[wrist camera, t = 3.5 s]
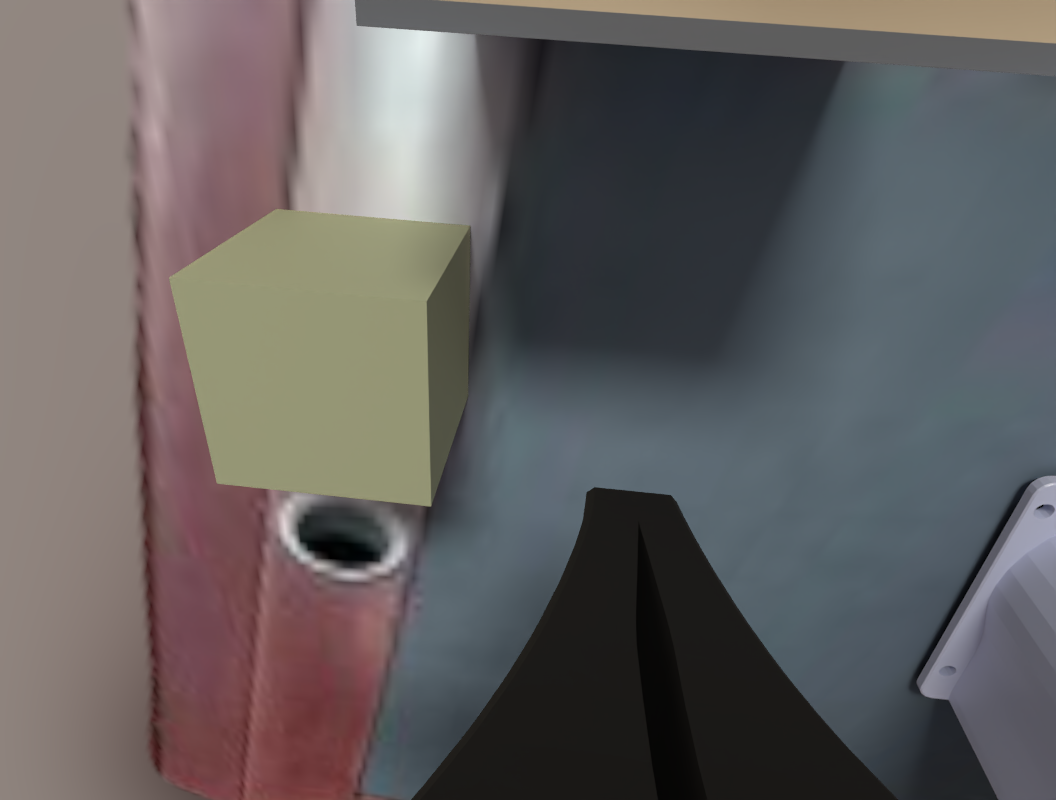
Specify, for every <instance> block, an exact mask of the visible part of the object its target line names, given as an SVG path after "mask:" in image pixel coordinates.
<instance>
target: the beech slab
mask: <svg viewBox="0 0 1056 800" xmlns="http://www.w3.org/2000/svg"><path fill="white" fill-rule="evenodd" d="M355 7H356V22H357V26H368V27H382V28H396V29H409V30H423V31H437V32H451V33H465V34H479V35H492V36H506V37H520V38H534V39H548V40H562V41H575V42H589V43H603V44H617V45H631V46H644V47H658V48H672V49H686V50H700V51H714V52H727V53H741V54H755V55H769V56H783V57H797V58H810V59H824V60H838V61H852V62H866V63H880V64H893V65H907V66H921V67H935V68H949V69H963V70H976V71H990V72H1004V73H1018V74H1032V75H1045V76H1056V0H355Z"/></svg>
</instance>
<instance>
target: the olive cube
mask: <svg viewBox="0 0 1056 800" xmlns="http://www.w3.org/2000/svg"><path fill="white" fill-rule="evenodd" d="M169 280H170V284H171V289H172V293H173V297H174V302H175V306H176V310H177V314H178V319H179V323H180V327H181V331H182V336H183V340H184V344H185V348H186V353H187V357H188V361H189V366H190V370H191V374H192V378H193V383H194V387H195V391H196V395H197V400H198V404H199V408H200V412H201V417H202V421H203V425H204V430H205V434H206V438H207V442H208V447H209V451H210V455H211V459H212V464H213V468H214V472H215V476H216V481H217V484H227V485H236V486H245V487H254V488H264V489H273V490H282V491H292V492H301V493H310V494H319V495H329V496H338V497H347V498H356V499H366V500H375V501H384V502H394V503H403V504H412V505H421V506H432V503H433V500H434V497H435V494H436V491H437V488H438V485H439V482H440V479H441V476H442V473H443V470H444V467H445V464H446V461H447V458H448V455H449V452H450V449H451V446H452V443H453V440H454V437H455V434H456V431H457V428H458V425H459V422H460V419H461V416H462V413H463V410H464V407H465V404H466V401H467V398H468V368H469V295H470V226H467V225H455V224H443V223H432V222H420V221H409V220H397V219H386V218H374V217H362V216H351V215H339V214H328V213H316V212H305V211H293V210H281V209H276V210H274V211H272V212H271V213H269V214H268V215H266V216H265V217H263V218H261V219H260V220H258V221H257V222H255V223H254V224H252V225H251V226H249V227H247V228H246V229H244V230H243V231H241V232H240V233H238V234H237V235H235V236H233V237H232V238H230V239H229V240H227V241H226V242H224V243H222V244H221V245H219V246H218V247H216V248H215V249H213V250H212V251H210V252H208V253H207V254H205V255H204V256H202V257H201V258H199V259H197V260H196V261H194V262H193V263H191V264H190V265H188V266H187V267H185V268H183V269H182V270H180V271H179V272H177V273H176V274H174V275H172V276H171V277H169Z"/></svg>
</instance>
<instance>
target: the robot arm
mask: <svg viewBox="0 0 1056 800" xmlns="http://www.w3.org/2000/svg"><path fill="white" fill-rule="evenodd" d="M1041 505H1044V506H1043V507H1041V508H1039V509H1036V508H1037V507H1039V506H1041ZM917 685H918V687H919V689H920V691H921V694H923V695H924V696H926V697H930V698H936V699H945V700H949V702H950V704H951V706H952V708H953V710H954V712H955V714H956V716H957V718H958V720H959V722H960V724H961V726H962V728H963V730H964V732H965V734H966V736H967V738H968V740H969V742H970V744H971V746H972V748H973V750H974V752H975V754H976V756H977V758H978V760H979V762H980V764H981V766H982V768H983V770H984V772H985V774H986V776H987V778H988V780H989V782H990V784H991V786H992V788H993V790H994V792H995V794H996V796H997V798H998V800H1056V476H1045V477H1041V478H1038V479H1036V480H1035V481H1033V482H1032V483H1031V484H1030V485H1029V486H1028V487H1027V489H1026V490H1025V492H1024V494H1023V496H1022V497H1021V499H1020V501H1019V503H1018V504H1017V506H1016V508H1015V510H1014V511H1013V513H1012V515H1011V517H1010V518H1009V520H1008V522H1007V524H1006V525H1005V527H1004V529H1003V531H1002V532H1001V534H1000V536H999V538H998V539H997V541H996V543H995V545H994V546H993V548H992V550H991V552H990V553H989V555H988V557H987V559H986V560H985V562H984V564H983V566H982V567H981V569H980V571H979V572H978V574H977V576H976V578H975V579H974V581H973V583H972V585H971V586H970V588H969V590H968V592H967V593H966V595H965V597H964V599H963V600H962V602H961V604H960V606H959V607H958V609H957V611H956V613H955V614H954V616H953V618H952V620H951V621H950V623H949V625H948V627H947V628H946V630H945V632H944V634H943V635H942V637H941V639H940V641H939V642H938V644H937V646H936V648H935V649H934V651H933V653H932V655H931V656H930V658H929V660H928V662H927V663H926V665H925V667H924V669H923V670H922V672H921V674H920V675H919V677H918V679H917ZM411 800H898V799H897V798H896V797H895V796H894V795H893V794H892V793H891V792H890V791H889V790H888V789H887V788H886V787H885V786H884V785H883V784H882V783H881V782H880V781H879V780H878V778H877V777H876V776H875V775H874V774H873V773H872V772H871V771H870V770H869V769H868V768H867V767H866V766H865V765H864V764H863V763H862V762H861V761H860V760H859V759H858V758H857V757H856V756H855V755H854V754H853V753H852V752H851V751H850V750H849V749H848V748H847V746H846V745H845V744H844V743H843V742H842V741H841V740H840V738H839V737H838V736H837V735H836V734H835V733H834V732H833V731H832V729H831V728H830V727H829V726H828V725H827V724H826V723H825V721H824V720H823V719H822V718H821V717H820V716H819V715H818V714H817V712H816V711H815V710H814V709H813V707H812V706H811V705H810V704H809V703H808V701H807V700H806V699H805V698H804V697H803V695H802V694H801V693H800V692H799V691H798V689H797V688H796V687H795V686H794V684H793V683H792V682H791V681H790V679H789V678H788V677H787V676H786V674H785V673H784V672H783V670H782V669H781V668H780V667H779V665H778V664H777V663H776V661H775V660H774V659H773V657H772V656H771V655H770V653H769V652H768V651H767V649H766V648H765V646H764V645H763V644H762V642H761V641H760V639H759V638H758V637H757V635H756V634H755V632H754V631H753V630H752V628H751V627H750V625H749V624H748V623H747V621H746V620H745V618H744V617H743V615H742V614H741V612H740V611H739V609H738V608H737V606H736V605H735V603H734V602H733V600H732V598H731V597H730V595H729V594H728V592H727V591H726V589H725V587H724V586H723V584H722V583H721V581H720V580H719V578H718V576H717V575H716V573H715V572H714V570H713V568H712V567H711V565H710V563H709V562H708V560H707V558H706V556H705V555H704V553H703V551H702V549H701V548H700V546H699V544H698V542H697V541H696V539H695V537H694V535H693V533H692V531H691V530H690V528H689V526H688V524H687V522H686V520H685V518H684V516H683V514H682V512H681V510H680V508H679V506H678V504H677V502H676V501H675V500H674V498H673V497H672V496H671V495H664V494H654V493H644V492H635V491H625V490H615V489H605V488H596V487H595V488H593V489H591V490H590V491H588V492H587V495H586V502H585V509H584V517H583V522H582V525H581V529H580V532H579V535H578V538H577V541H576V544H575V546H574V549H573V551H572V554H571V556H570V559H569V561H568V563H567V566H566V568H565V571H564V573H563V575H562V578H561V580H560V582H559V584H558V586H557V588H556V590H555V592H554V594H553V596H552V598H551V600H550V602H549V604H548V606H547V608H546V610H545V612H544V614H543V616H542V617H541V619H540V621H539V623H538V625H537V627H536V628H535V630H534V632H533V634H532V635H531V637H530V639H529V641H528V642H527V644H526V646H525V647H524V649H523V651H522V652H521V654H520V655H519V657H518V659H517V660H516V662H515V663H514V665H513V667H512V668H511V670H510V671H509V673H508V674H507V676H506V677H505V679H504V680H503V682H502V683H501V685H500V686H499V688H498V689H497V690H496V692H495V693H494V695H493V696H492V698H491V699H490V701H489V702H488V704H487V705H486V706H485V708H484V709H483V711H482V712H481V713H480V715H479V716H478V718H477V719H476V720H475V722H474V723H473V724H472V726H471V727H470V728H469V730H468V731H467V732H466V734H465V735H464V736H463V737H462V739H461V740H460V741H459V742H458V744H457V745H456V746H455V747H454V749H453V750H452V751H451V752H450V753H449V755H448V756H447V757H446V758H445V760H444V761H443V762H442V763H441V765H440V766H439V767H438V768H437V770H436V771H435V772H434V773H433V774H432V776H431V777H430V778H429V779H428V781H427V782H426V783H425V784H424V786H423V787H422V788H421V789H420V790H419V791H418V793H417V794H416V795H415V796H414V797H413V798H412V799H411Z"/></svg>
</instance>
